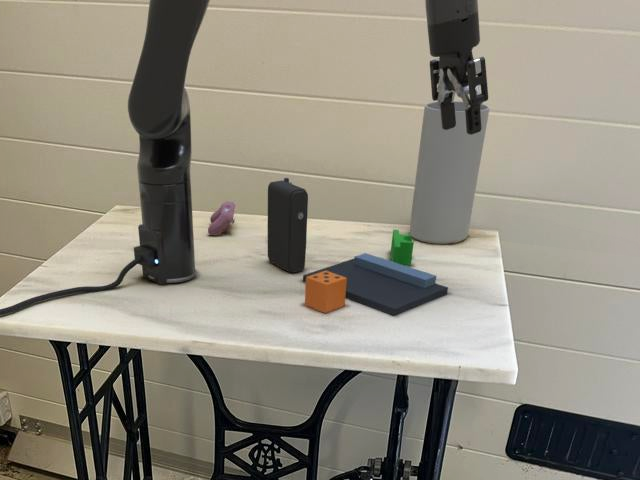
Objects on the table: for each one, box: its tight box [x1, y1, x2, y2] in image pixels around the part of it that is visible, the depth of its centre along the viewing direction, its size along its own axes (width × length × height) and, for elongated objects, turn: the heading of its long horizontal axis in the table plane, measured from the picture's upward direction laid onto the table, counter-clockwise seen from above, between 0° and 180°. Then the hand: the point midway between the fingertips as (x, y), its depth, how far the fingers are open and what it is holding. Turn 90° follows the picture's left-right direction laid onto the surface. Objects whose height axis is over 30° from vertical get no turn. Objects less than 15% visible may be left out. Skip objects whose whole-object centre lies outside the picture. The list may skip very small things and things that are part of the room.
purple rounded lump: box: [207, 200, 236, 236], centre depth 161 cm, size 10×5×7 cm, turn 179°
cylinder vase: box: [408, 100, 491, 245], centre depth 151 cm, size 12×12×25 cm
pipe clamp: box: [390, 229, 414, 267], centre depth 145 cm, size 11×4×5 cm, turn 173°
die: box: [304, 271, 347, 314], centre depth 126 cm, size 5×5×5 cm
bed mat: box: [302, 252, 449, 316], centre depth 133 cm, size 15×22×3 cm
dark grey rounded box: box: [267, 180, 309, 273], centre depth 139 cm, size 9×4×15 cm, turn 31°
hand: (461, 130), depth 120 cm, fingers open, 8 cm apart
